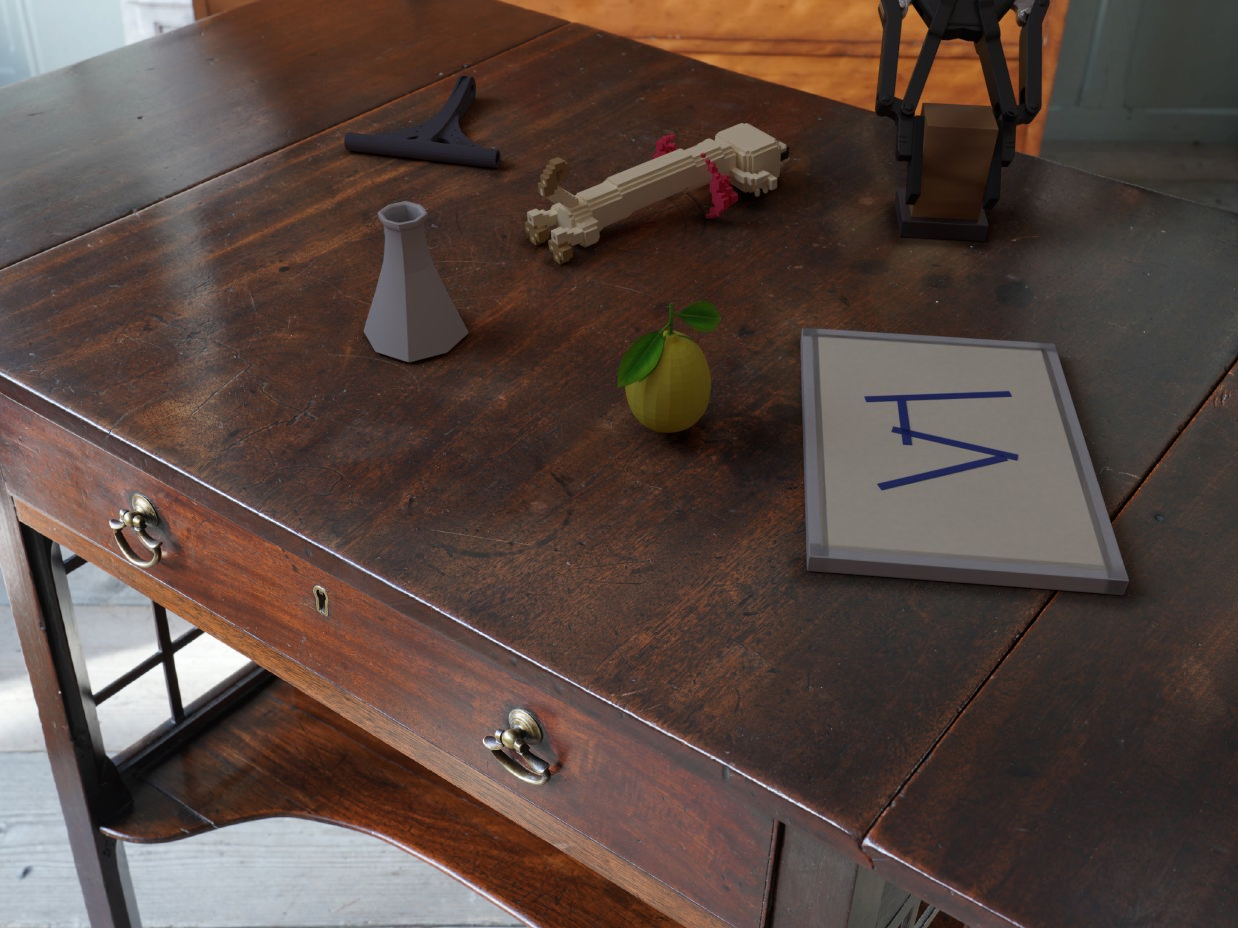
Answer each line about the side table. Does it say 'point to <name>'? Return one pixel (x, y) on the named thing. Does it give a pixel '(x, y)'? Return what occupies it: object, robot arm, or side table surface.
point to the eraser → (951, 174)
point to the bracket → (433, 135)
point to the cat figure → (656, 185)
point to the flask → (410, 293)
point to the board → (949, 464)
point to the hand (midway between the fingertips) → (951, 201)
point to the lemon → (669, 372)
